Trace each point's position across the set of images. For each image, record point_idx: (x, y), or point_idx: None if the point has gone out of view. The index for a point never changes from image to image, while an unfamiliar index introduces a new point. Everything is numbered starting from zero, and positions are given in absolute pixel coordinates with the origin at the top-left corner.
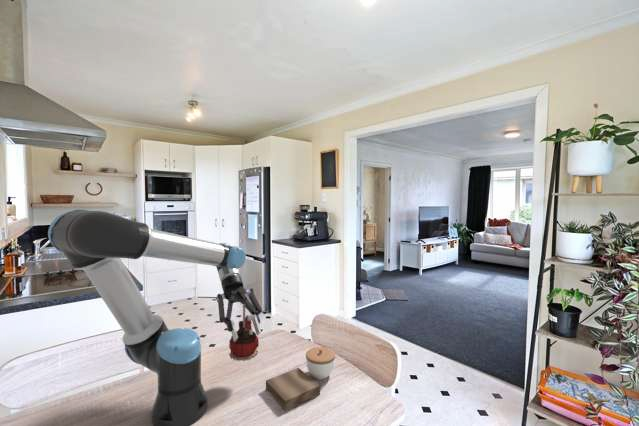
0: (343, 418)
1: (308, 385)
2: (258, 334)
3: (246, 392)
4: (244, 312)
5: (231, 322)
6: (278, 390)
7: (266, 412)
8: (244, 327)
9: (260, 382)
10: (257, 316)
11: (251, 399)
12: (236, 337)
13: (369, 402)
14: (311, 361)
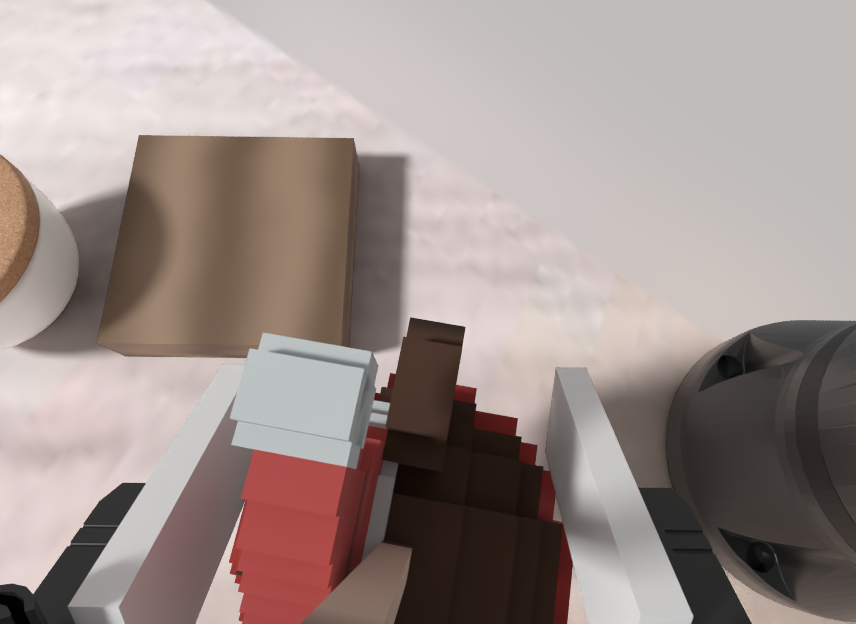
0: (204, 11)
1: (184, 167)
2: None
3: None
4: (364, 586)
5: (667, 577)
6: (334, 224)
7: (433, 206)
8: (392, 544)
9: None
10: (61, 594)
11: None
12: (581, 369)
13: (49, 12)
14: (34, 212)
